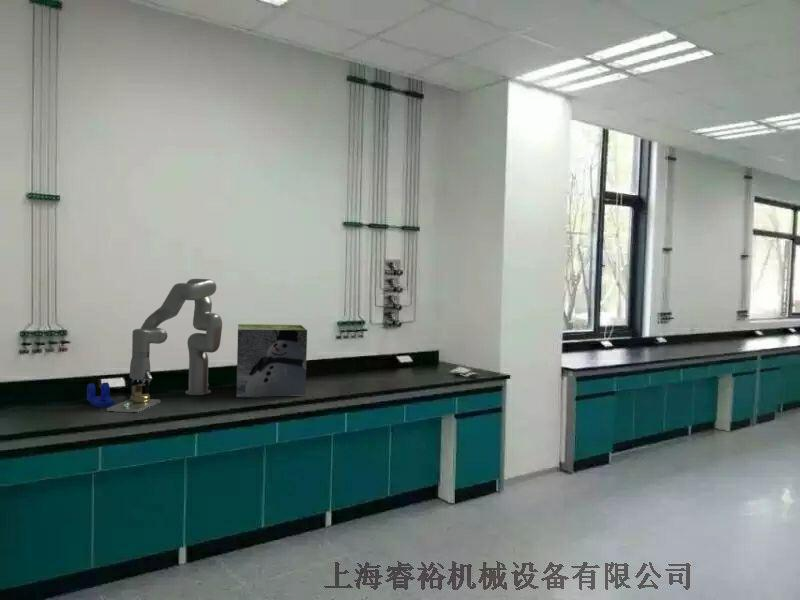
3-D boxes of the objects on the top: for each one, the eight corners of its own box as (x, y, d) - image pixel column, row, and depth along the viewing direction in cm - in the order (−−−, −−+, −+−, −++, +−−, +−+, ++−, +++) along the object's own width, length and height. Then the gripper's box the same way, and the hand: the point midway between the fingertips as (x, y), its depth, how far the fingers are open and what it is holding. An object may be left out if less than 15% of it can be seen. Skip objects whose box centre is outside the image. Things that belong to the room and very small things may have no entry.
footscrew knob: (142, 398, 285) (143, 382, 285) (153, 400, 281) (153, 384, 280) (122, 401, 277) (122, 385, 276) (133, 404, 272) (133, 387, 272)
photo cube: (299, 384, 345) (300, 324, 344) (305, 396, 311) (307, 330, 310) (236, 385, 336) (238, 324, 335) (236, 397, 302) (237, 329, 301)
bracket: (86, 401, 284) (87, 382, 283) (105, 399, 289) (105, 381, 289) (96, 408, 270) (97, 388, 270) (116, 406, 276) (116, 387, 275)
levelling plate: (132, 401, 286) (132, 394, 286) (160, 402, 285) (160, 395, 285) (106, 411, 264) (107, 404, 264) (137, 412, 263) (137, 405, 263)
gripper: (122, 354, 280) (122, 391, 281) (144, 357, 271) (143, 396, 271) (137, 352, 287) (136, 389, 287) (159, 356, 277) (158, 394, 278)
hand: (140, 392), depth 279 cm, fingers open, 7 cm apart
